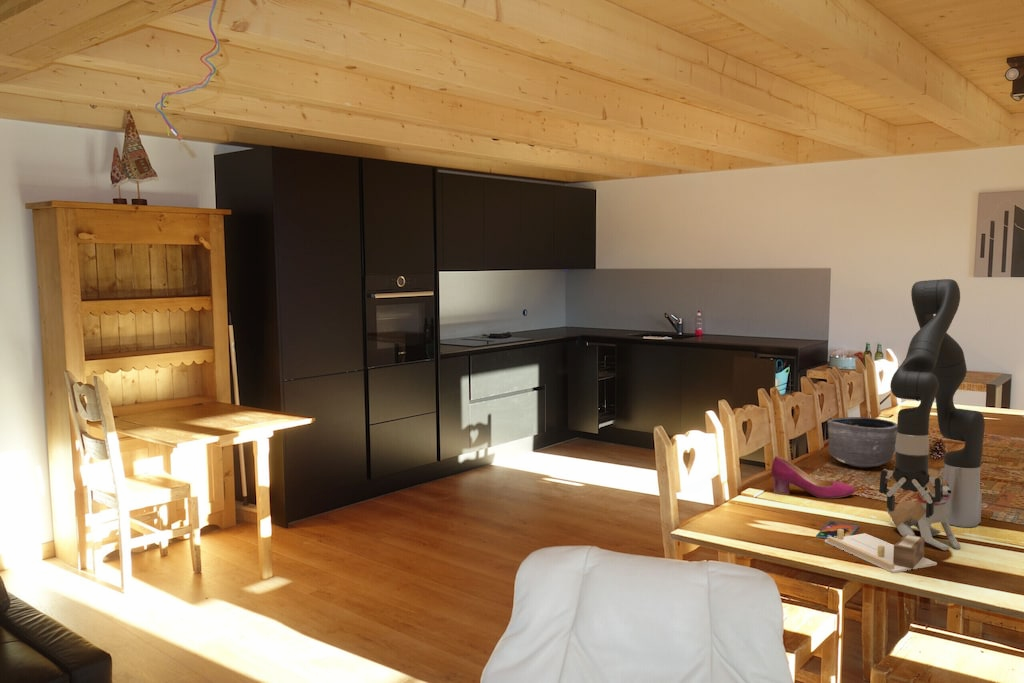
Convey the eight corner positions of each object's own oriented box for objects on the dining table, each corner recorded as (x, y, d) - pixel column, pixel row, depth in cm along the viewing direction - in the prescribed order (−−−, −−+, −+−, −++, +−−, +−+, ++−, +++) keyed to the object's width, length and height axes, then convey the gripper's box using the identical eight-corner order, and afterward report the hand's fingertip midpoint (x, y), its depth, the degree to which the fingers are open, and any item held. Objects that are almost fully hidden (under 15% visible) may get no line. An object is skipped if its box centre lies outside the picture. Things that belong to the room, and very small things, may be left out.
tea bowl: (908, 462, 300) (906, 416, 299) (889, 475, 284) (887, 427, 283) (840, 457, 317) (837, 413, 316) (818, 469, 300) (816, 423, 299)
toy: (937, 552, 211) (940, 478, 209) (872, 524, 233) (874, 457, 231) (968, 548, 213) (971, 474, 211) (901, 521, 236) (903, 454, 234)
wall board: (865, 535, 225) (865, 524, 224) (936, 565, 202) (937, 553, 202) (824, 542, 220) (824, 530, 220) (893, 573, 197) (893, 561, 197)
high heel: (854, 494, 264) (855, 457, 263) (855, 502, 256) (856, 464, 255) (772, 487, 273) (772, 452, 272) (770, 494, 265) (771, 458, 264)
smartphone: (815, 535, 224) (829, 520, 236) (815, 540, 224) (829, 524, 236) (846, 540, 219) (859, 523, 231) (846, 545, 219) (859, 528, 231)
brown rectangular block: (905, 552, 210) (905, 533, 209) (924, 555, 207) (924, 536, 206) (893, 564, 201) (893, 545, 201) (912, 568, 199) (913, 549, 198)
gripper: (947, 451, 200) (944, 515, 201) (886, 444, 209) (884, 505, 210) (939, 457, 194) (937, 523, 196) (877, 449, 203) (875, 512, 205)
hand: (909, 513), depth 203 cm, fingers open, 8 cm apart
